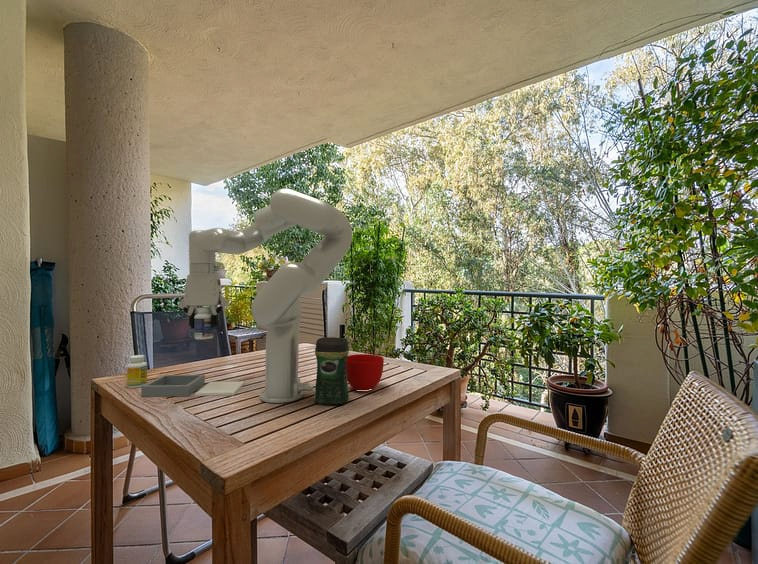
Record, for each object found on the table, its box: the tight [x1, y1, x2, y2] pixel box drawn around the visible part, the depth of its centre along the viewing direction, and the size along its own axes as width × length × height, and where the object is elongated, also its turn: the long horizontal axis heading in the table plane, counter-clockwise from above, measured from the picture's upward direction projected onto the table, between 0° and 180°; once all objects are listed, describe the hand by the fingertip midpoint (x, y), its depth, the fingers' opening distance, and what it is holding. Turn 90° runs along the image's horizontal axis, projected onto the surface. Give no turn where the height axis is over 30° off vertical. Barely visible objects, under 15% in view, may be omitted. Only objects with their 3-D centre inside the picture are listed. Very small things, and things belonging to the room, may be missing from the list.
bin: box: [140, 374, 206, 398], centre depth 112 cm, size 13×13×3 cm
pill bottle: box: [193, 306, 214, 340], centre depth 113 cm, size 5×5×10 cm
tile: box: [194, 381, 246, 397], centre depth 113 cm, size 11×12×1 cm
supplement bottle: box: [126, 354, 148, 389], centre depth 116 cm, size 5×5×10 cm
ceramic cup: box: [346, 353, 385, 390], centre depth 119 cm, size 13×17×10 cm
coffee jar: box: [314, 336, 350, 405], centre depth 104 cm, size 10×8×19 cm
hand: (204, 327), depth 112 cm, fingers closed on pill bottle, 5 cm apart
